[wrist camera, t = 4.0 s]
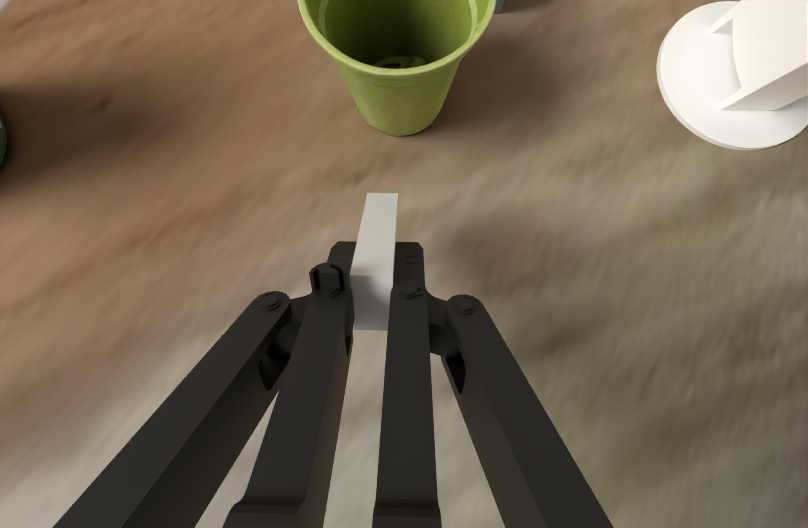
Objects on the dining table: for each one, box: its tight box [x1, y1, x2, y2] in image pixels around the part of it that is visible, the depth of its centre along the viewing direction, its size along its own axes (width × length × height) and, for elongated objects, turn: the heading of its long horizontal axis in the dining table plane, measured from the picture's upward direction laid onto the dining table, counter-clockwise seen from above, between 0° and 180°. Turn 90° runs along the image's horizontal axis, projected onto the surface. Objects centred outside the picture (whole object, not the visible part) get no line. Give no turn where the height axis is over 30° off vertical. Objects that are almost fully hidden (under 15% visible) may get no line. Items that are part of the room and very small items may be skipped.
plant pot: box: [298, 0, 497, 136], centre depth 21 cm, size 9×9×9 cm
